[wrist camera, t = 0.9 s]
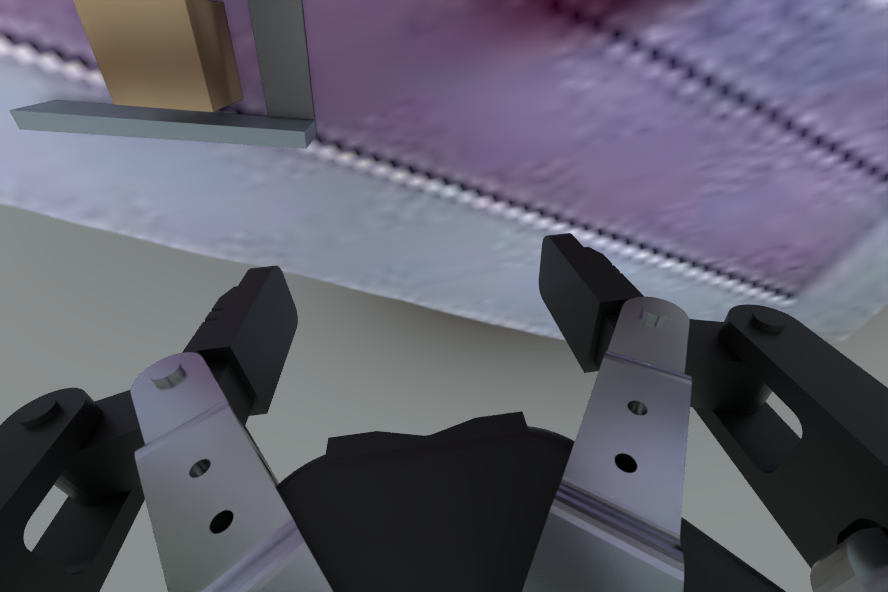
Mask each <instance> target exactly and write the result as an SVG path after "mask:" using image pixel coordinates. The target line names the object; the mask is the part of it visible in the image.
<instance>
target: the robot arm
mask: <svg viewBox="0 0 888 592" xmlns="http://www.w3.org/2000/svg"><path fill="white" fill-rule="evenodd" d="M539 289H540V294H541V297H542V299H543V301H544V303H545V304H546V306H547V308H548V310H549V311H550V313H551V315H552V317H553V318H554V320H555V322H556V324H557V325H558V327H559V329H560V331H561V332H562V334H563V336H564V338H565V339H566V341H567V343H568V345H569V346H570V348H571V350H572V352H573V354H574V355H575V357H576V359H577V361H578V362H579V364H580V366H581V368H582V369H583V371H584V373H586V372H594V371H599V372H598V375H597V378H596V381H595V384H594V387H593V390H592V393H591V396H590V399H589V401H588V404H587V407H586V411H585V413H584V416H583V420H582V422H581V425H580V428H579V431H578V434H577V437H576V440H575V441H573V440H571V439H569V438H567V437H565V436H563V435H560V434H558V433H555V432H552V431H549V430H545V429H541V428H536V427H529V426H527V424H526V421H525V418H524V415H523V413H522V412H515V413H507V414H501V415H493V416H485V417H478V418H474V419H471V420H469V421H466V422H463V423H461V424H458V425H456V426H453V427H450V428H448V429H445V430H442V431H440V432H437V433H435V434H432V435H427V436H421V435H420V436H419V435H410V434H399V433H390V432H379V431H375V432H368V433H360V434H354V435H346V436H338V437H331V438H328V444H327V450H326V455H323V456H321V457H318V458H316V459H314V460H312V461H310V462H308V463H307V464H305V465H303V466H302V467H300V468H299V469H297V470H296V471H294V472H293V473H292V474H290V475H289V476H288V477H286V478H285V479H284V480H283V481H282V482H281V483H279V482H278V480H277V479H276V477H275V475H274V474H273V472H272V470H271V468H270V467H269V465H268V463H267V462H266V460H265V458H264V456H263V455H262V453H261V451H260V450H259V448H258V446H257V444H256V443H255V441H254V439H253V438H252V436H251V434H250V432H249V431H248V429H247V428H246V426H245V424H246V422H247V419H248V416H251V415H259V414H266V413H267V412H268V410H269V407H270V404H271V401H272V398H273V395H274V392H275V389H276V387H277V384H278V381H279V378H280V375H281V372H282V369H283V366H284V363H285V360H286V358H287V354H288V352H289V349H290V346H291V343H292V340H293V337H294V334H295V331H296V328H297V323H298V316H297V310H296V307H295V304H294V302H293V299H292V296H291V294H290V291H289V288H288V286H287V283H286V280H285V278H284V275H283V273H282V271H281V269H280V268H279V267H278V266H268V267H259V268H251V269H249V270H248V271H247V273H246V274H245V276H244V277H243V279H242V281H241V282H240V284H239V285H238V286H237V287H233V288H232V289H230V290H229V291H228V292H227V293H225V294H224V295H223V296H221V297H220V298H219V299H218V301H217V302H216V304H215V305H214V307H213V308H212V312H210V313H209V314H208V316H207V317H206V318H205V322H203V323H202V324H201V326H200V327H199V329H198V330H197V332H196V333H195V335H194V336H193V337H192V339H191V340H190V342H189V343H188V345H187V346H186V348H185V349H184V351H183V352H182V353H179V354H174V355H171V356H168V357H166V358H164V359H161V360H159V361H157V362H156V363H154V364H152V365H151V366H149V367H148V368H146V369H145V370H144V371H143V372H142V373H140V375H138V377H137V378H136V379H135V380H134V382H133V384H132V386H131V389H130V390H128V391H125V392H122V393H119V394H116V395H113V396H110V397H107V398H104V399H101V400H98V401H95V402H94V401H93V400H92V399H91V398H90V397H89V396H88V394H87V393H86V392H85V391H84V390H82V389H79V388H65V389H61V390H57V391H54V392H51V393H48V394H46V395H43V396H41V397H39V398H37V399H35V400H33V401H31V402H29V403H28V404H26V405H24V406H23V407H21V408H20V409H18V410H17V411H16V412H14V413H13V414H12V415H11V416H9V417H8V418H7V419H6V420H5V421H4V422H3V423H2V424H1V425H0V592H100V589H101V587H102V585H103V583H104V581H105V579H106V577H107V575H108V573H109V571H110V569H111V567H112V565H113V563H114V561H115V558H116V557H117V555H118V552H119V550H120V549H121V547H122V544H123V543H124V541H125V538H126V536H127V534H128V532H129V530H130V528H131V526H132V524H133V522H134V520H135V518H136V516H137V514H138V512H139V510H140V508H141V506H142V504H143V502H144V500H145V501H146V505H147V509H148V513H149V517H150V520H151V525H152V529H153V533H154V537H155V541H156V545H157V549H158V553H159V557H160V561H161V565H162V569H163V573H164V577H165V581H166V585H167V589H168V592H786V591H784V590H783V589H781V588H780V587H779V586H777V585H776V584H774V583H773V582H772V581H770V580H769V579H767V578H766V577H765V576H763V575H762V574H760V573H759V572H758V571H756V570H755V569H754V568H752V567H750V566H749V565H748V564H746V563H745V562H743V561H742V560H741V559H740V558H738V557H737V556H735V555H734V554H733V553H731V552H730V551H728V550H727V549H726V548H724V547H723V546H721V545H720V544H719V543H717V542H716V541H714V540H713V539H712V538H710V537H709V536H707V535H706V534H705V533H703V532H702V531H700V530H699V529H698V528H696V527H695V526H694V525H692V524H691V523H689V522H688V521H687V520H685V519H684V518H682V517H681V514H682V502H683V489H684V477H685V463H686V451H687V438H688V425H689V413H690V407H693V408H694V409H695V411H696V412H697V413H698V415H699V416H700V418H701V419H702V420H703V422H704V423H705V424H706V426H707V427H708V428H709V430H710V431H711V432H712V434H713V435H714V437H715V438H716V439H717V441H718V442H719V443H720V445H721V446H722V447H723V449H724V450H725V452H726V453H727V454H728V456H729V457H730V459H731V460H732V461H733V463H734V464H735V465H736V467H737V468H738V469H739V471H740V472H741V473H742V475H743V476H744V478H745V479H746V480H747V482H748V483H749V484H750V486H751V487H752V489H753V490H754V491H755V493H756V494H757V495H758V497H759V498H760V499H761V501H762V502H763V504H764V505H765V506H766V508H767V509H768V510H769V512H770V513H771V514H772V516H773V517H774V519H775V520H776V521H777V523H778V524H779V525H780V527H781V528H782V529H783V531H784V532H785V534H786V535H787V536H788V538H789V539H790V540H791V542H792V543H793V544H794V546H795V547H796V548H797V550H798V551H799V553H800V554H801V555H802V557H803V558H804V559H805V561H806V562H807V564H808V565H809V566H810V568H811V574H810V580H811V586H812V590H813V592H888V388H887V387H886V386H884V385H883V384H882V383H880V382H879V381H878V380H876V379H875V378H874V377H872V376H871V375H870V374H868V373H867V372H866V371H864V370H863V369H862V368H860V367H859V366H858V365H856V364H855V363H854V362H852V361H851V360H850V359H848V358H847V357H846V356H844V355H843V354H842V353H840V352H839V351H838V350H836V349H835V348H834V347H832V346H831V345H830V344H828V343H827V342H826V341H824V340H823V339H822V338H820V337H819V336H818V335H816V334H815V333H814V332H812V331H811V330H810V329H808V328H807V327H806V326H804V325H803V324H802V323H800V322H799V321H798V320H796V319H795V318H793V317H791V316H790V315H788V314H786V313H783V312H781V311H778V310H776V309H772V308H769V307H765V306H759V305H739V306H735V307H733V308H731V309H730V310H729V312H728V315H727V317H726V319H725V321H724V322H716V321H704V320H693V319H689V317H688V315H687V314H686V312H685V311H684V310H683V309H681V308H680V307H679V306H677V305H675V304H673V303H671V302H669V301H666V300H663V299H659V298H654V297H644V296H643V295H642V294H641V293H640V292H639V291H638V290H637V289H636V288H635V287H634V286H633V285H632V283H631V282H630V281H629V280H628V279H627V278H626V277H625V276H624V275H623V274H622V273H620V271H619V270H618V269H617V268H616V267H615V266H614V265H613V266H612V263H611V262H610V261H609V260H608V259H607V258H606V257H605V256H604V255H603V254H602V253H600V252H598V251H596V250H594V249H592V248H590V247H583V246H582V245H581V244H580V243H579V242H578V240H577V239H576V238H575V237H574V236H573V235H572V234H570V233H567V234H558V235H549V236H545V237H544V239H543V242H542V252H541V262H540V272H539ZM772 391H773V392H774V393H775V394H776V395H777V396H778V397H779V398H780V399H781V400H782V401H783V402H784V403H785V404H786V405H787V406H788V407H789V408H790V409H791V410H792V411H793V412H794V413H795V415H796V416H797V417H798V419H799V421H800V423H801V426H802V431H803V434H802V438H801V439H800V438H799V437H798V436H797V434H796V433H795V432H794V431H793V430H792V429H791V428H790V427H789V426H788V425H787V424H786V423H785V422H784V421H783V420H782V419H781V417H780V416H778V414H777V413H776V412H775V411H774V410H773V409H772V408H771V407H770V406H769V405H768V404H767V403H766V402H765V401H766V400H767V399H768V397H769V396H770V394H771V392H772ZM53 485H55V486H56V487H58V488H59V489H61V490H62V491H63V492H64V493H66V494H67V495H68V498H67V499H66V501H65V502H64V504H63V505H62V507H61V508H60V510H59V512H58V513H57V514H56V516H55V517H54V519H53V520H52V522H51V524H50V525H49V526H48V528H47V529H46V531H45V532H44V534H43V535H42V537H41V538H40V540H39V542H38V543H37V545H36V546H35V548H34V549H33V551H32V552H31V551H29V550H28V549H27V548H26V546H25V544H24V540H23V536H24V529H25V527H26V524H27V522H28V520H29V519H30V517H31V516H32V514H33V513H34V512H35V510H36V509H37V507H38V506H39V504H40V503H41V502H42V500H43V499H44V498H45V496H46V495H47V493H48V492H49V491H50V489H51V488H52V486H53Z"/></svg>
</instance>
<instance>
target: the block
mask: <svg viewBox="0 0 888 592" xmlns="http://www.w3.org/2000/svg"><path fill="white" fill-rule="evenodd" d="M73 2H74V5H75V7H76V10H77V12H78V15H79V17H80V20H81V22H82V25H83V27H84V30H85V32H86V35H87V37H88V40H89V43H90V45H91V48H92V50H93V53H94V55H95V58H96V60H97V63H98V65H99V68H100V70H101V73H102V75H103V78H104V81H105V83H106V86H107V88H108V91H109V93H110V96H111V98H112V101H113V103H114V105H125V106H138V107H151V108H165V109H178V110H191V111H204V112H215V111H217V110H219V109H221V108H223V107H225V106H228V105H230V104H232V103H234V102H236V101H238V100H240V99H242V98H243V94H242V89H241V84H240V79H239V75H238V70H237V65H236V60H235V55H234V50H233V46H232V41H231V36H230V31H229V26H228V21H227V17H226V12H225V7H224V2H217V1H209V0H73Z"/></svg>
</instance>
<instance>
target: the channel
mask: <svg viewBox="0 0 888 592" xmlns="http://www.w3.org/2000/svg"><path fill="white" fill-rule="evenodd" d="M248 4H249V10H250V15H251V21H252V27H253V32H254V38H255V44H256V49H257V55H258V61H259V67H260V72H261V78H262V84H263V89H264V95H265V101H266V107H267V112H268V116H257V115H244V114H231V113H218V112H204V111H191V110H178V109H165V108H151V107H138V106H125V105H114V104H102V103H89V102H76V101H63V100H54V101H49V102H44V103H40V104H35V105H31V106H26V107H22V108H17V109H13V110H9V111H10V113H11V114H12V116H13V118H14V120H15V122H16V123H17V125H18V127H19V129H24V130H39V131H54V132H68V133H83V134H98V135H113V136H128V137H143V138H158V139H172V140H187V141H202V142H217V143H232V144H247V145H262V146H277V147H291V148H307V147H308V146H309V144H310V143H311V142H312V141H313V139H314V138H315V137H316V125H315V120H309V119H315V116H314V107H313V97H312V88H311V79H310V69H309V60H308V51H307V41H306V32H305V22H304V13H303V4H302V0H248ZM270 116H278V117H270ZM283 117H291V118H283ZM296 118H304V119H296Z"/></svg>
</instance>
